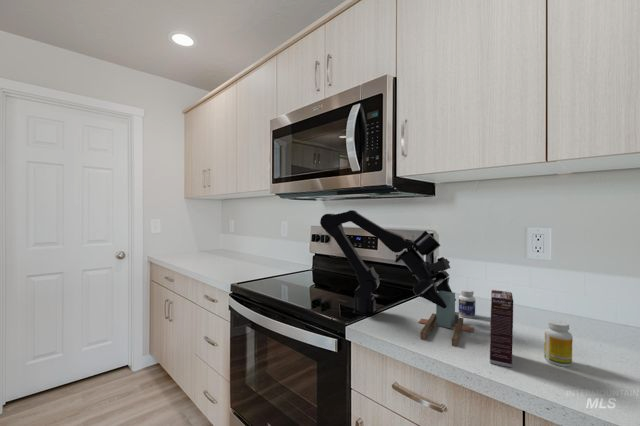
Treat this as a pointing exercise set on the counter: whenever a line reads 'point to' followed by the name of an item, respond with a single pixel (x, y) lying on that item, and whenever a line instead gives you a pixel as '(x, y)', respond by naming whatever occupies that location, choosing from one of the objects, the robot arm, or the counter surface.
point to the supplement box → (501, 328)
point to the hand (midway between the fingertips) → (450, 304)
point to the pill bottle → (467, 303)
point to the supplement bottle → (558, 343)
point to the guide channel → (457, 327)
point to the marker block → (446, 310)
